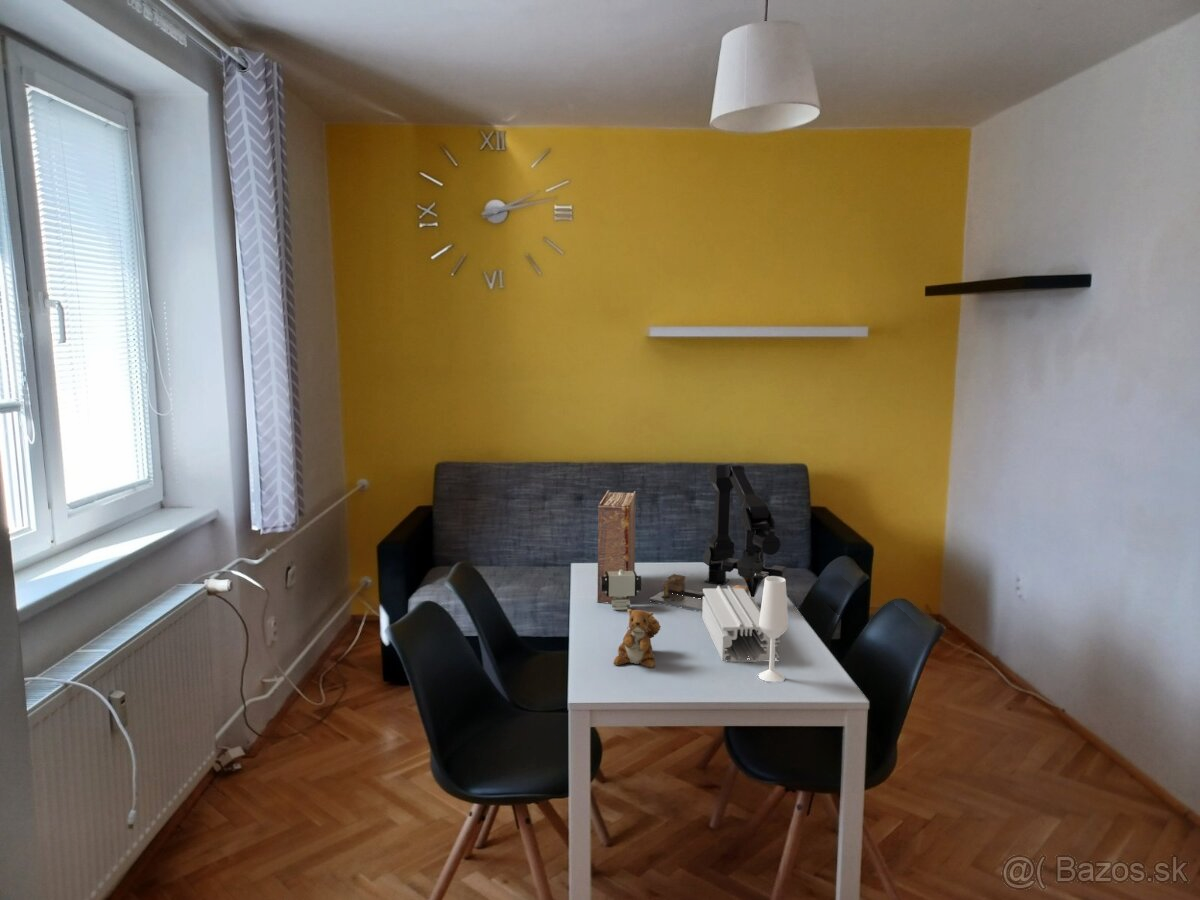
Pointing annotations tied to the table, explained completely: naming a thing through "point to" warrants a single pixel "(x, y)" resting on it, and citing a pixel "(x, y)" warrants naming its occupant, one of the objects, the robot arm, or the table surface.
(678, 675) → the table surface
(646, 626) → the stuffed squirrel
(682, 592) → the rail
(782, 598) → the champagne flute
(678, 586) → the fixed leg
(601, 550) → the book
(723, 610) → the aluminum extrusion profile
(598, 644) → the table surface
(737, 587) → the sliding leg
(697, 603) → the bolt-hole strip
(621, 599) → the pneumatic valve
